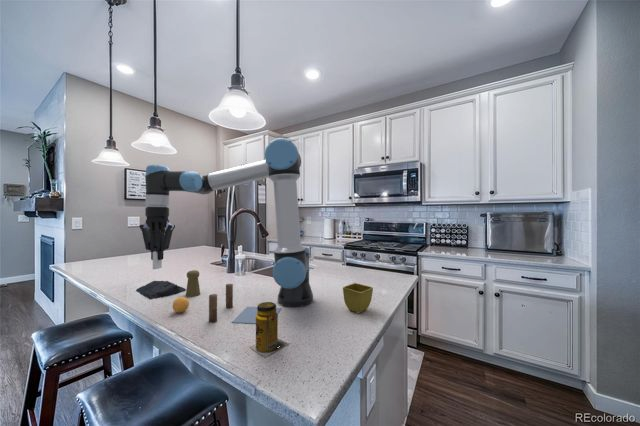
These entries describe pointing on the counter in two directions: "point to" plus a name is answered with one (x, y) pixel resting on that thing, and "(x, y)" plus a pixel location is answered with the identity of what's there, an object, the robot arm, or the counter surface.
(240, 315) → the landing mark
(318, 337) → the counter surface
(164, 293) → the dark slate chunk
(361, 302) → the flower pot
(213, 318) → the post
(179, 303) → the ball
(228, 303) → the post
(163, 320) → the counter surface
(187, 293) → the cork
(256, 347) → the condiment
